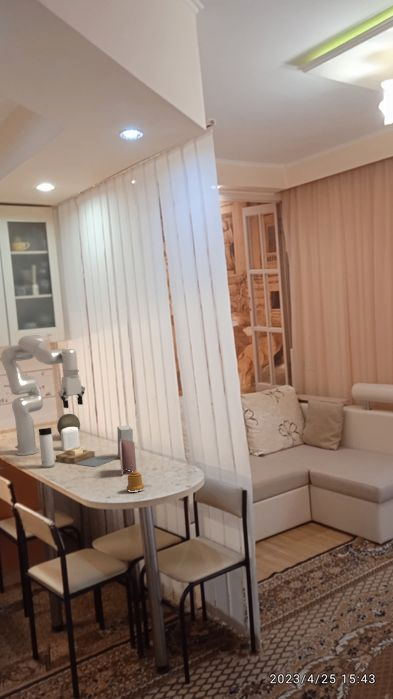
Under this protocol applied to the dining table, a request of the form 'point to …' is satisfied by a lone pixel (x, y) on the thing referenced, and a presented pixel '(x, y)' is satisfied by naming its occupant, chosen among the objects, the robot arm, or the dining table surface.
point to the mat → (95, 461)
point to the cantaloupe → (68, 422)
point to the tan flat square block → (75, 457)
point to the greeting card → (127, 455)
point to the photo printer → (70, 438)
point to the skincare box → (124, 435)
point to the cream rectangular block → (73, 451)
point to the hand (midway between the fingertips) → (73, 406)
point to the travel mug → (46, 448)
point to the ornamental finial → (135, 481)
